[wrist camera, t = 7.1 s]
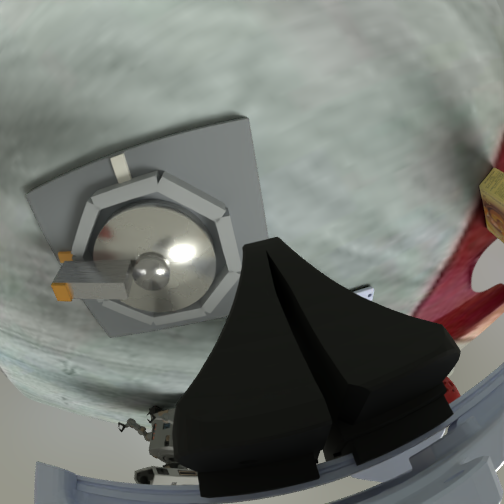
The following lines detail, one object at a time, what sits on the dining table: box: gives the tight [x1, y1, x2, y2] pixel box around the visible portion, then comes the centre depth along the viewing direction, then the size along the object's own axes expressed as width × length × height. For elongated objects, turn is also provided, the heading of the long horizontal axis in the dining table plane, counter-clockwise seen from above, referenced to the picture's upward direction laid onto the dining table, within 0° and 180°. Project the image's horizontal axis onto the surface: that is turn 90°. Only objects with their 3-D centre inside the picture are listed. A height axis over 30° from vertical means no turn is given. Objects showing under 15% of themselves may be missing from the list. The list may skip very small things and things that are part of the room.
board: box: [26, 117, 269, 338], centre depth 19 cm, size 16×17×2 cm
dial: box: [51, 200, 216, 312], centre depth 18 cm, size 12×9×4 cm
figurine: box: [118, 406, 199, 485], centre depth 28 cm, size 9×12×15 cm
